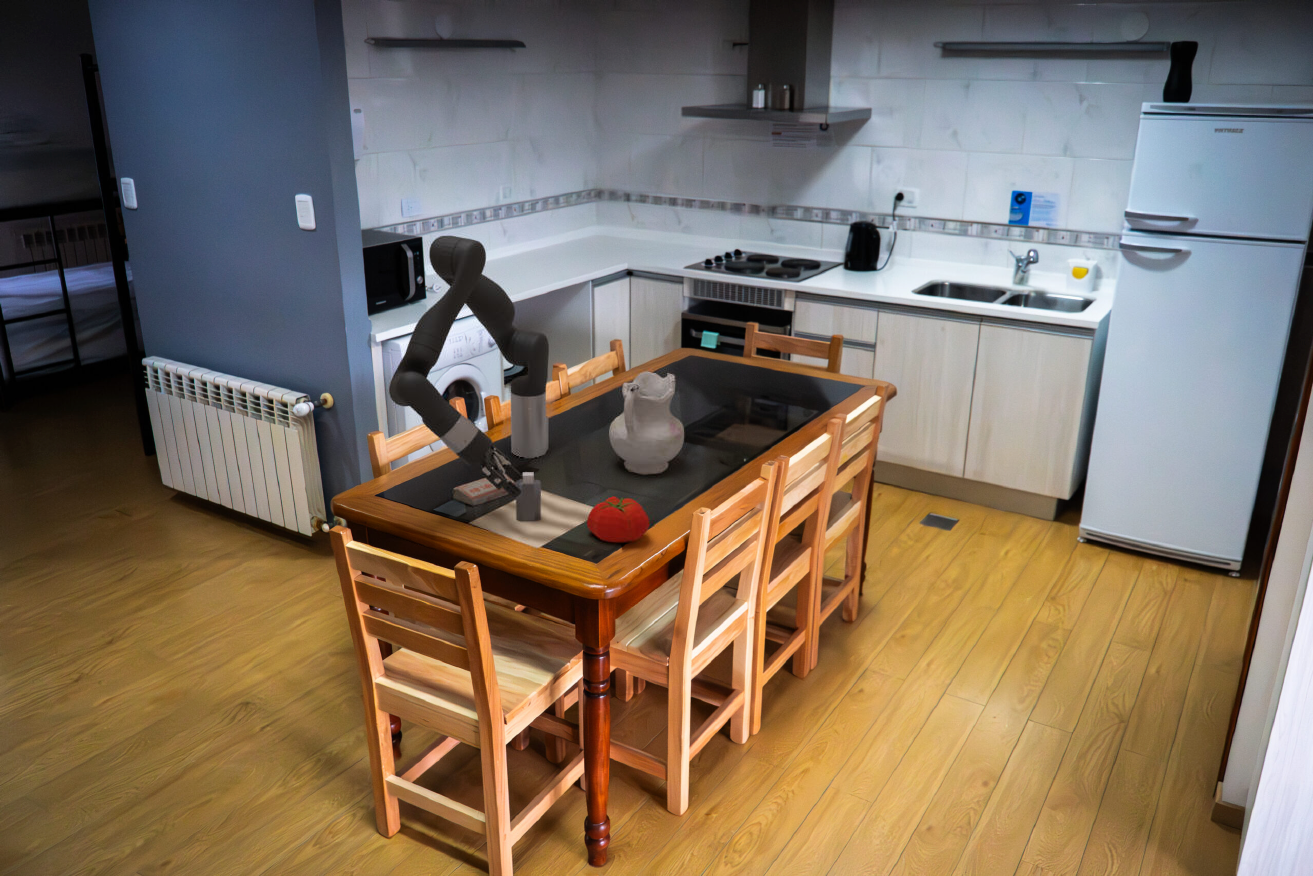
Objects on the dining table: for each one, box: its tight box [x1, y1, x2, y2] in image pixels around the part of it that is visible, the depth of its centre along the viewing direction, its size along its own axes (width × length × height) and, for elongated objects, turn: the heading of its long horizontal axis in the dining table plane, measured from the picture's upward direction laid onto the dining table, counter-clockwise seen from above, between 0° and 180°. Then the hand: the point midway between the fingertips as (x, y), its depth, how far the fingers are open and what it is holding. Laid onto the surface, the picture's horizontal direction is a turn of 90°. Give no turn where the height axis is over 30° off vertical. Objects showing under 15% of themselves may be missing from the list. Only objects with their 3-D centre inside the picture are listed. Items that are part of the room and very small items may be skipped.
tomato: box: [586, 496, 650, 544], centre depth 223 cm, size 14×13×9 cm
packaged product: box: [452, 474, 522, 507], centre depth 240 cm, size 18×5×10 cm
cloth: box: [468, 489, 595, 549], centre depth 230 cm, size 24×20×1 cm
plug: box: [515, 471, 542, 522], centre depth 226 cm, size 3×6×11 cm, turn 97°
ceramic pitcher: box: [608, 370, 685, 476], centre depth 258 cm, size 22×20×25 cm
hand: (518, 487), depth 225 cm, fingers open, 8 cm apart
